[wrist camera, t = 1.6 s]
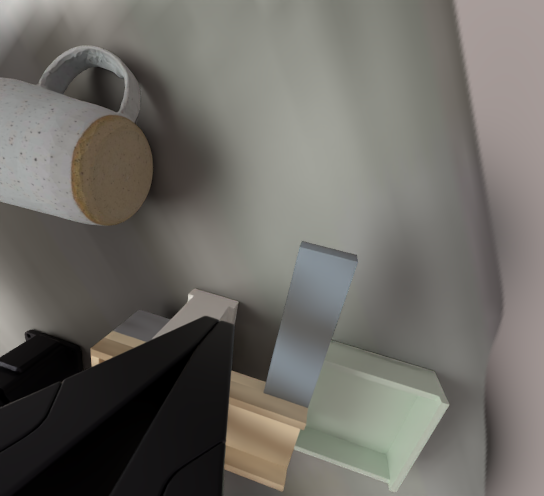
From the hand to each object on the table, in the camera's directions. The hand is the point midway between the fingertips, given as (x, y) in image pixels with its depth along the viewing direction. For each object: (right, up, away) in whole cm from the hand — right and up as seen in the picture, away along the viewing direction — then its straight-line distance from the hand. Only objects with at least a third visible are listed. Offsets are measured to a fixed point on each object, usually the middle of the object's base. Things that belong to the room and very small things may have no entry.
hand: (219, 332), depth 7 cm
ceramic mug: (-11, +11, +13) cm, 20 cm away
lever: (-2, -3, +14) cm, 15 cm away
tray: (+9, -11, +16) cm, 21 cm away
